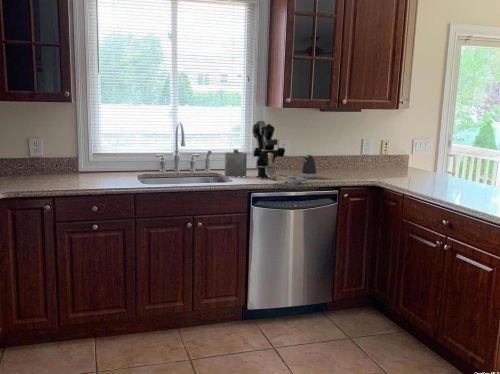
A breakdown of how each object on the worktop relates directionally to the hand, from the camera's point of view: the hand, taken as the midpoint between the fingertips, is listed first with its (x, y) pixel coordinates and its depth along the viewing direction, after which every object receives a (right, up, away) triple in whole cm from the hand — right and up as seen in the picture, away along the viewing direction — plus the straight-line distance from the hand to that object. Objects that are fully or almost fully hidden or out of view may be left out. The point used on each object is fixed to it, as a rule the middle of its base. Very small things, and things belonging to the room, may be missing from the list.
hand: (270, 163), depth 302 cm
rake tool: (0, -7, +3) cm, 7 cm away
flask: (-22, -7, +31) cm, 39 cm away
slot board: (+8, -10, +21) cm, 24 cm away
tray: (+15, -11, +11) cm, 22 cm away
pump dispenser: (+26, -8, +30) cm, 40 cm away
